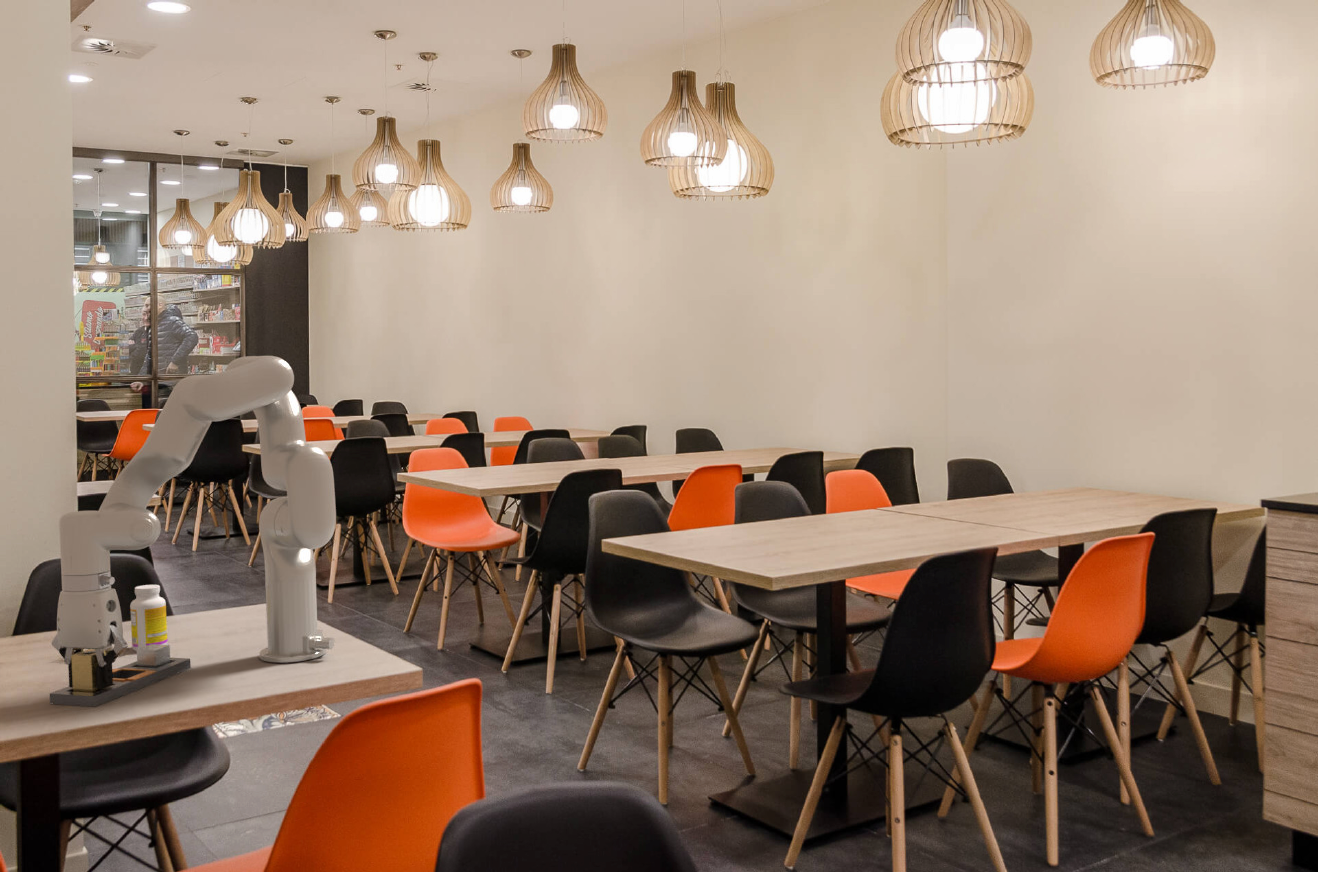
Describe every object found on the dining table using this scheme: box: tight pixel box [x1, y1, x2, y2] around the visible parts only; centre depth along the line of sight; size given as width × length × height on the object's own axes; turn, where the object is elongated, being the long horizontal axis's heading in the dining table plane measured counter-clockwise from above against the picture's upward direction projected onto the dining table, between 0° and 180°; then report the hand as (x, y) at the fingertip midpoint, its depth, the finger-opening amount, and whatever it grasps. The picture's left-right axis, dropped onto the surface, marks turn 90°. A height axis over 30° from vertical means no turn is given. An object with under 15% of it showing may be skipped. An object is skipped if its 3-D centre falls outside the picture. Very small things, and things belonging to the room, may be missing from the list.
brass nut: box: [71, 649, 109, 693], centre depth 190 cm, size 4×4×8 cm
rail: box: [49, 657, 192, 708], centre depth 198 cm, size 9×25×2 cm, turn 167°
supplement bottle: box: [129, 584, 169, 652], centre depth 225 cm, size 7×7×13 cm
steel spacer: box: [136, 644, 171, 668], centre depth 205 cm, size 4×4×5 cm
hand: (91, 684), depth 190 cm, fingers open, 4 cm apart
